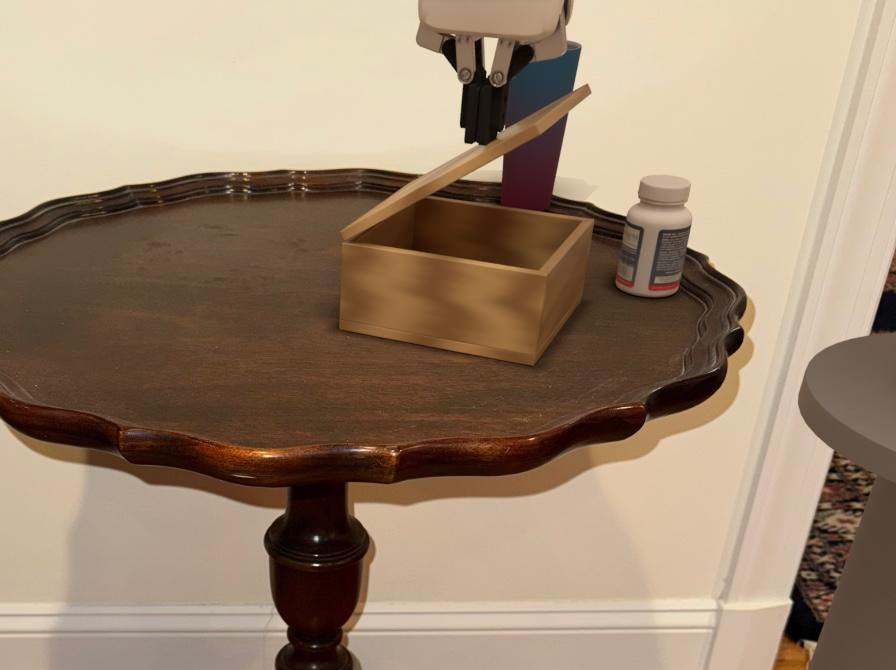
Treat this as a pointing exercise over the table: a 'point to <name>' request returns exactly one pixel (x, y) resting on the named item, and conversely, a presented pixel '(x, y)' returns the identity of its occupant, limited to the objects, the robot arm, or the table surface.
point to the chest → (466, 277)
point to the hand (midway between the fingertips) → (480, 140)
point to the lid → (468, 161)
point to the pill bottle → (655, 238)
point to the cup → (538, 159)
